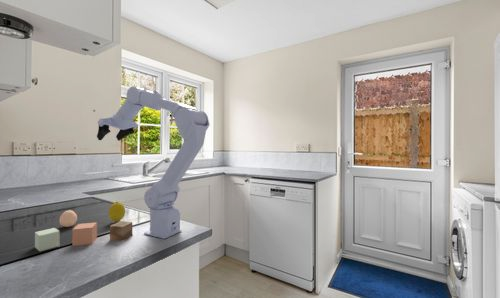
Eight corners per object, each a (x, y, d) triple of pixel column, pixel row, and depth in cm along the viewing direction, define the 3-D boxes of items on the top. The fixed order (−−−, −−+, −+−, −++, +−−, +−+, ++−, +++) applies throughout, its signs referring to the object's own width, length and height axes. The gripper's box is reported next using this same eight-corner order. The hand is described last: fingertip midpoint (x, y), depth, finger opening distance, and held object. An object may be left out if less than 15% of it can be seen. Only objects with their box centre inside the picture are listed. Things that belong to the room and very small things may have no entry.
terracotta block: (96, 237, 76) (96, 222, 75) (92, 244, 71) (92, 227, 71) (78, 239, 74) (78, 223, 74) (72, 246, 69) (72, 229, 69)
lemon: (118, 225, 87) (117, 203, 87) (105, 224, 88) (105, 202, 88) (128, 220, 92) (128, 200, 92) (116, 219, 94) (116, 199, 93)
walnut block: (132, 235, 77) (132, 222, 77) (122, 241, 73) (122, 226, 73) (120, 234, 78) (120, 221, 78) (109, 240, 74) (109, 225, 74)
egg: (57, 226, 85) (57, 210, 85) (75, 223, 89) (75, 207, 89) (61, 230, 82) (61, 213, 81) (78, 226, 85) (78, 210, 85)
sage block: (59, 246, 69) (59, 231, 69) (39, 251, 66) (39, 235, 65) (54, 242, 72) (54, 227, 72) (35, 247, 68) (34, 232, 68)
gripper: (138, 109, 95) (121, 131, 99) (102, 103, 82) (84, 129, 86) (146, 122, 93) (128, 144, 97) (111, 118, 80) (92, 144, 84)
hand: (108, 138), depth 92 cm, fingers open, 7 cm apart
